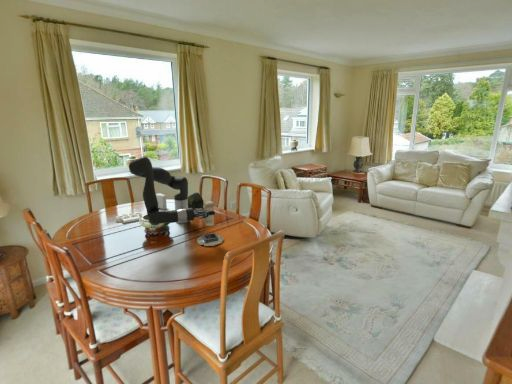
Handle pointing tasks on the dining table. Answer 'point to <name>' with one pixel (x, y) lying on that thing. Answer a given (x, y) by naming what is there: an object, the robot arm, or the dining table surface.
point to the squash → (195, 201)
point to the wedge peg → (208, 207)
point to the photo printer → (161, 201)
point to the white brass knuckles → (129, 217)
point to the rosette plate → (209, 239)
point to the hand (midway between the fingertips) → (213, 211)
